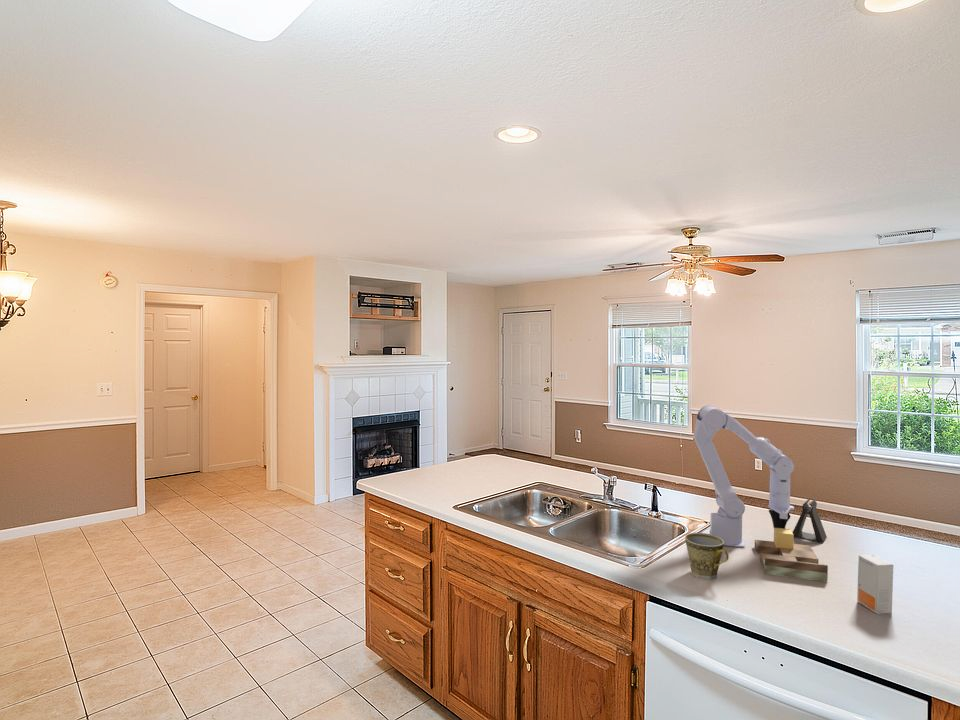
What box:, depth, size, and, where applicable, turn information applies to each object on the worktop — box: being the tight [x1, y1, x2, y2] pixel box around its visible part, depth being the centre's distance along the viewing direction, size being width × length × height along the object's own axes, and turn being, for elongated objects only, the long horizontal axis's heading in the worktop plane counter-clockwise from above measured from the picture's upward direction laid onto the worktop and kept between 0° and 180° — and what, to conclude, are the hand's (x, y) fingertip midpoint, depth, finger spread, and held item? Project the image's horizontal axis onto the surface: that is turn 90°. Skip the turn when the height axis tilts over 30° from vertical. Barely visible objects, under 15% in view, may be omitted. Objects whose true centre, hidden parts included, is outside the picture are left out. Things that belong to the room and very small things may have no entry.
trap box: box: [754, 539, 829, 583], centre depth 156 cm, size 15×20×4 cm
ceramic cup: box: [684, 532, 729, 581], centre depth 147 cm, size 13×10×10 cm
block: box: [773, 527, 795, 549], centre depth 163 cm, size 4×4×4 cm
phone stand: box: [792, 498, 828, 544], centre depth 176 cm, size 9×6×12 cm, turn 47°
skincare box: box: [856, 554, 894, 615], centre depth 130 cm, size 6×4×12 cm
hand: (778, 534), depth 170 cm, fingers closed
